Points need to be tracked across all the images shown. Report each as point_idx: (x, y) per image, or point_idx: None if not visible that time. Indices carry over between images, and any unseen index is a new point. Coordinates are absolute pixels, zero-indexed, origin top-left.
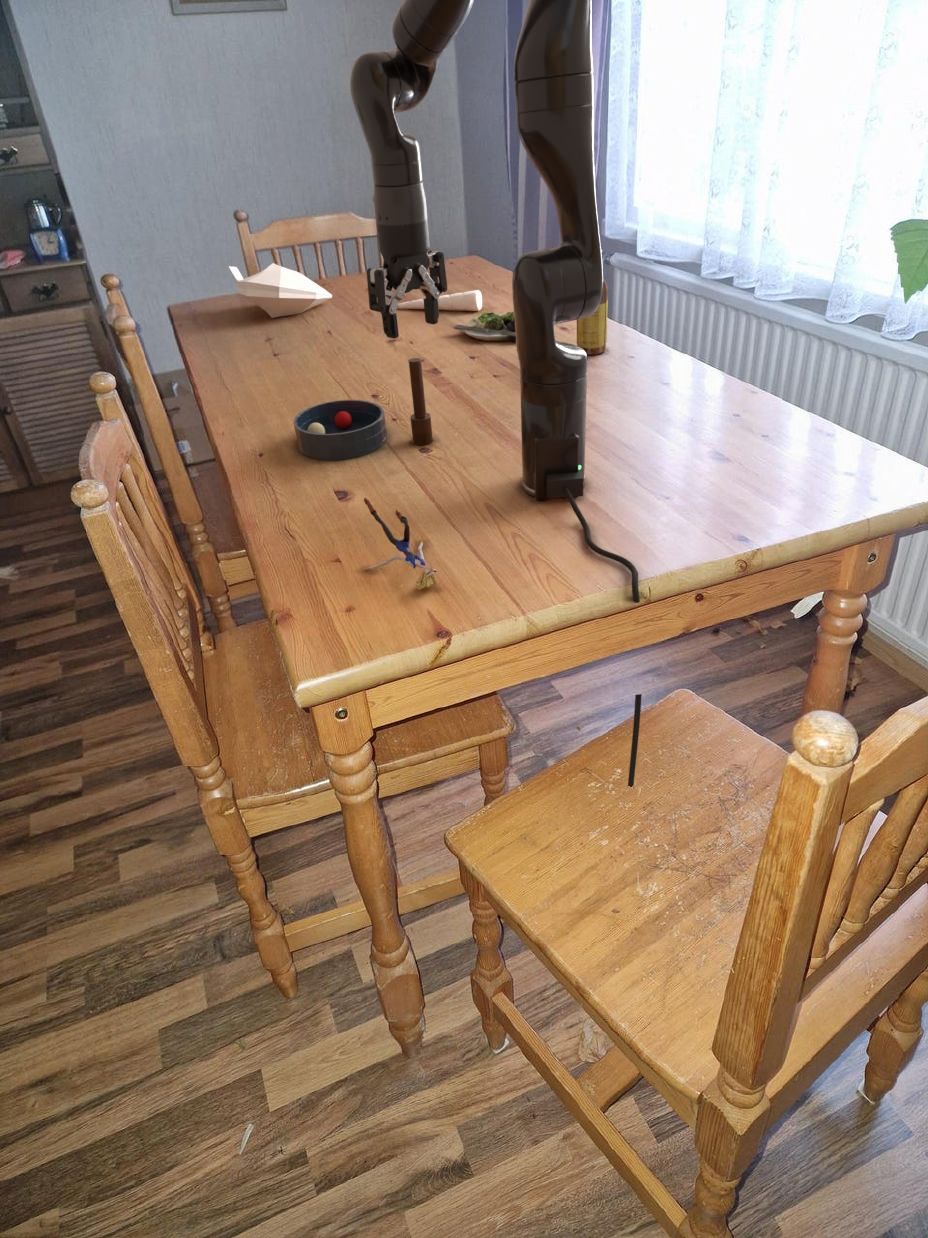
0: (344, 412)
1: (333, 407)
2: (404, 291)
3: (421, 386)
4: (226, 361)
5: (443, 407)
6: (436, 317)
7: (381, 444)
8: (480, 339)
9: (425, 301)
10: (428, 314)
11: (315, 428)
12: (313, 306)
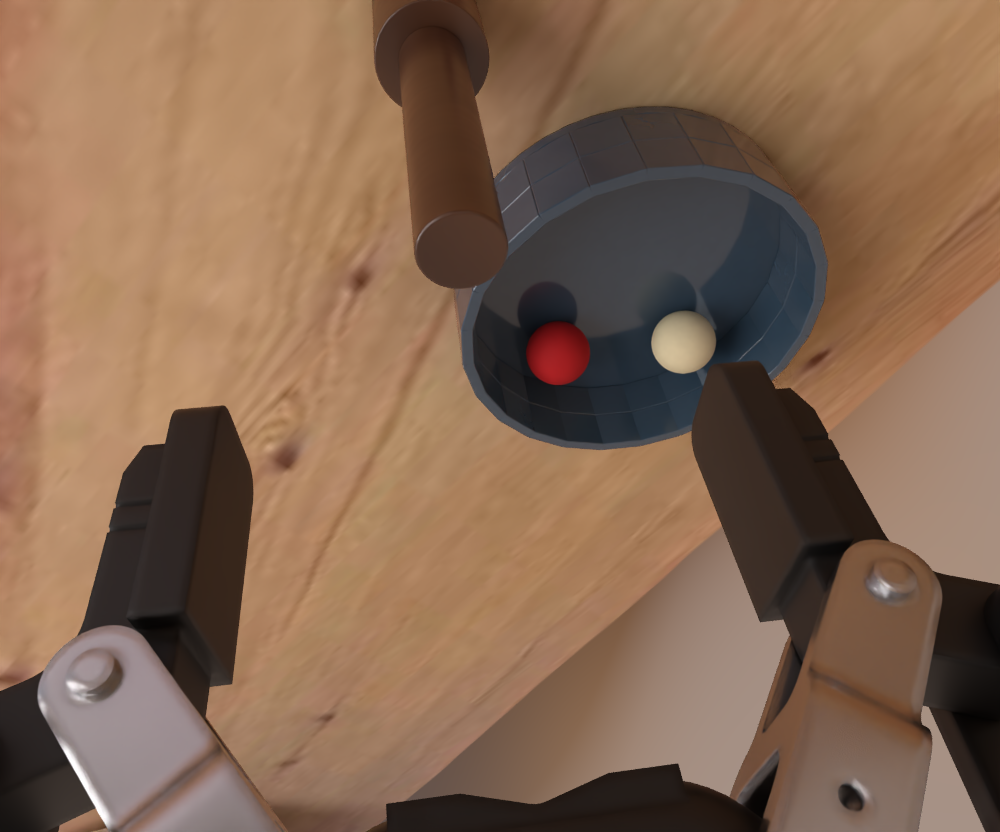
0: (559, 368)
1: (547, 420)
2: (791, 781)
3: (445, 112)
4: (427, 728)
5: (113, 231)
6: (182, 445)
7: (576, 125)
8: None
9: (228, 647)
10: (235, 516)
11: (706, 341)
12: (106, 828)
